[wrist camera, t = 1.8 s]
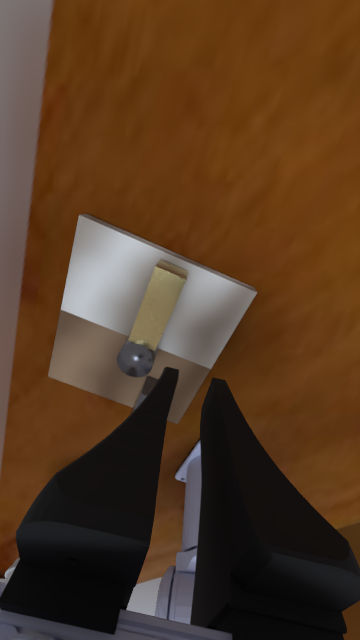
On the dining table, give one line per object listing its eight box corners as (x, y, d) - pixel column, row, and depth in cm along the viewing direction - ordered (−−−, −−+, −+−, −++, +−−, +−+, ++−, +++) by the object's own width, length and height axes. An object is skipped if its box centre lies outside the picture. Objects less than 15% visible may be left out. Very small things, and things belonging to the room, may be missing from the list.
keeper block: (163, 381, 23) (158, 400, 21) (148, 411, 25) (142, 431, 23) (147, 375, 23) (141, 393, 21) (133, 405, 25) (126, 425, 23)
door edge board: (254, 287, 19) (257, 292, 18) (178, 415, 26) (177, 424, 25) (86, 213, 18) (79, 214, 17) (54, 368, 25) (47, 376, 24)
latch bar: (152, 362, 22) (145, 382, 19) (122, 351, 21) (112, 369, 19) (192, 273, 18) (190, 284, 15) (156, 257, 17) (149, 266, 15)
